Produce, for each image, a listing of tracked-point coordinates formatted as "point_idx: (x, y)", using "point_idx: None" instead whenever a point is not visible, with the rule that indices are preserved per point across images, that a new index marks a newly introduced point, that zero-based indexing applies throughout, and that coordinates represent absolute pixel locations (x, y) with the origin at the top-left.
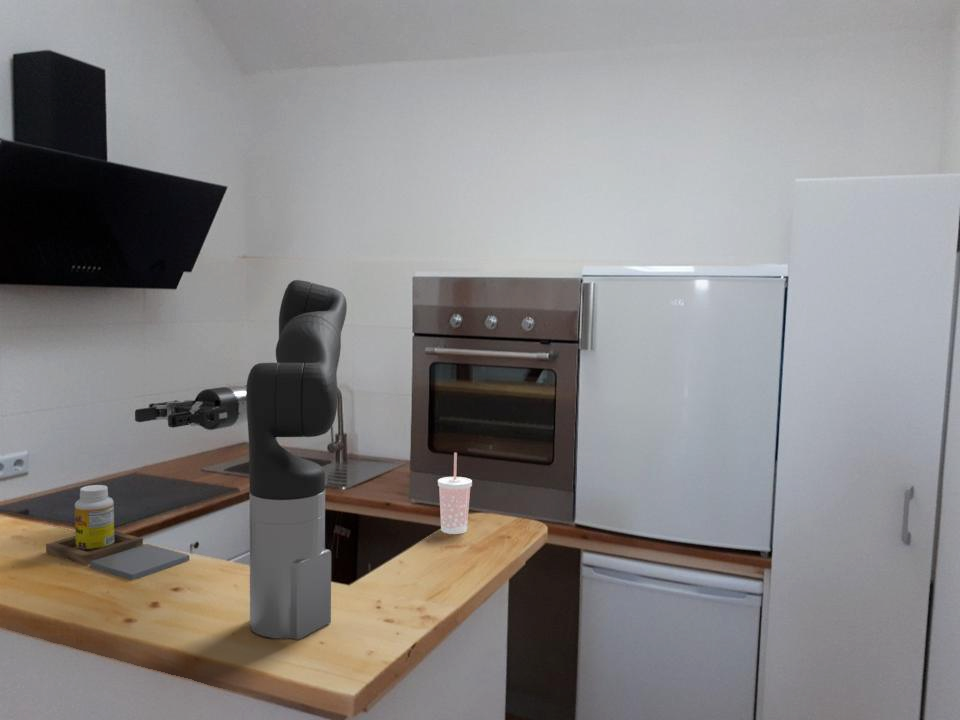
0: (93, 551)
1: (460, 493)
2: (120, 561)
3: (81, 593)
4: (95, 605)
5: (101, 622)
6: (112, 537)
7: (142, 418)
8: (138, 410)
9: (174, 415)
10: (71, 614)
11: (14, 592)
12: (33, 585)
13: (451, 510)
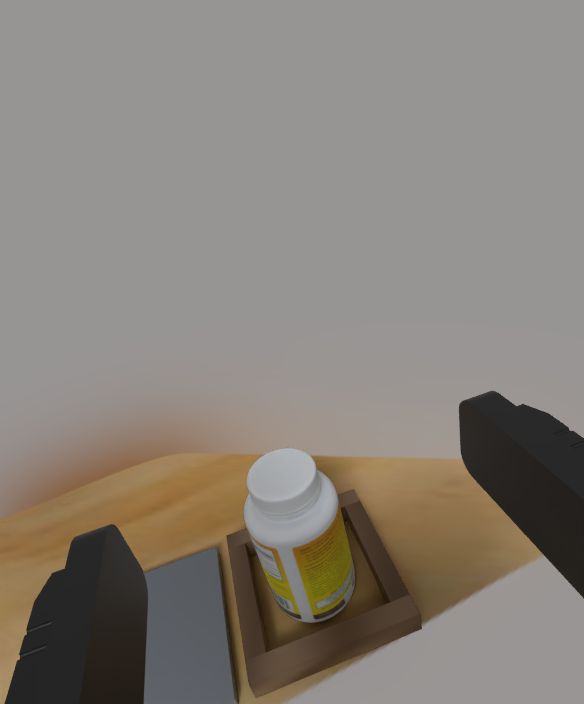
0: (240, 552)
1: None
2: (166, 596)
3: (116, 522)
4: (57, 530)
5: (4, 527)
6: (278, 597)
7: (484, 473)
8: (462, 401)
9: (72, 563)
10: (65, 502)
11: (201, 458)
12: (207, 476)
13: None
